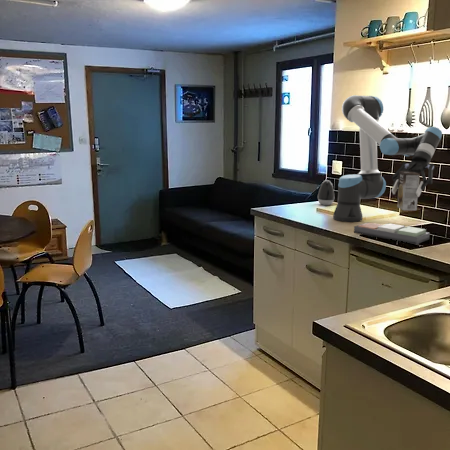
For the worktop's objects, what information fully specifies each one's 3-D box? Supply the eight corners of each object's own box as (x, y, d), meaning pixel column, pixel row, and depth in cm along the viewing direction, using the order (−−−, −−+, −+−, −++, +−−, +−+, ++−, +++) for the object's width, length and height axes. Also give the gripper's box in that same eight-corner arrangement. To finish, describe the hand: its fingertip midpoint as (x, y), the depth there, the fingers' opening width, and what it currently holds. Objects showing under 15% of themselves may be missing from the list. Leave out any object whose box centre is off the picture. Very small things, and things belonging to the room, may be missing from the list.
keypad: (353, 232, 230) (354, 226, 229) (367, 228, 239) (368, 222, 239) (416, 244, 210) (417, 237, 209) (429, 239, 219) (429, 232, 219)
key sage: (397, 235, 216) (398, 230, 216) (408, 231, 224) (408, 226, 224) (415, 238, 211) (415, 233, 210) (425, 234, 219) (426, 229, 218)
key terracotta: (358, 230, 229) (358, 225, 229) (369, 226, 237) (369, 222, 237) (373, 233, 224) (374, 228, 224) (384, 229, 232) (385, 225, 231)
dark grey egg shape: (317, 205, 300) (318, 180, 297) (317, 202, 310) (318, 178, 307) (334, 206, 298) (336, 181, 295) (333, 203, 308) (335, 179, 305)
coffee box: (396, 207, 221) (398, 171, 218) (410, 207, 221) (413, 171, 217) (402, 210, 212) (405, 173, 209) (417, 210, 212) (420, 173, 209)
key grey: (377, 231, 223) (377, 226, 222) (388, 227, 231) (388, 223, 230) (394, 234, 217) (394, 229, 217) (404, 230, 225) (405, 225, 225)
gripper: (450, 162, 215) (433, 201, 207) (401, 160, 231) (383, 196, 223) (447, 150, 211) (429, 190, 203) (396, 149, 226) (378, 185, 218)
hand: (405, 193), depth 213 cm, fingers closed on coffee box, 10 cm apart
